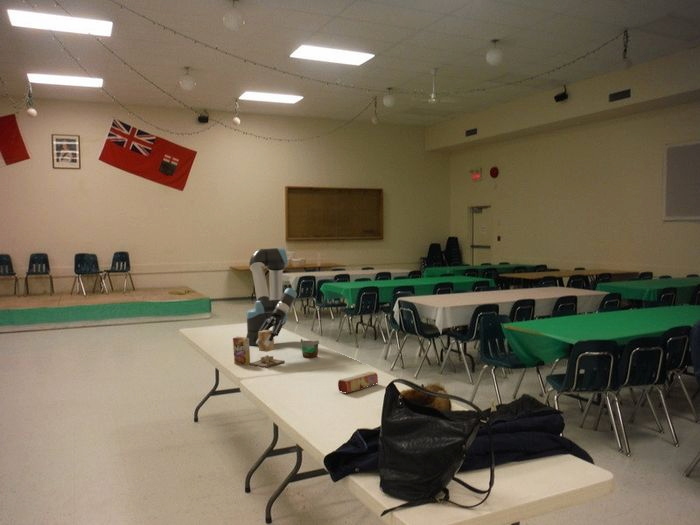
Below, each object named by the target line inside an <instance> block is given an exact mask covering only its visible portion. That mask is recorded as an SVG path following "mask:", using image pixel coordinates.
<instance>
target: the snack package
mask: <svg viewBox="0 0 700 525" xmlns="http://www.w3.org/2000/svg"><path fill="white" fill-rule="evenodd" d="M378 378H379V377H378V374H377V372H375V371H366V372H364V373H360V374H359V373H358V374H356V375H352V376H349V377H345V378H340V379H339V380H338V382H337V387H338V390H339V392H340V391H342V392H346V393H348V392H351V391H354V392H356V391H355V390H357V391H359V390H358V389H360V390H362V389H361V388H363V389H365V388H364V387H366V388H368V387H367V386H370V385H373V384H376V383H377V384H379V379H378ZM373 386H374V385H373ZM370 387H371V386H370ZM351 393H352V392H351ZM348 394H349V393H348Z"/></svg>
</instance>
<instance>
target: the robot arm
mask: <svg viewBox="0 0 700 525" xmlns="http://www.w3.org/2000/svg"><path fill="white" fill-rule="evenodd" d="M288 262H289V261H288V255H287V252H286V250H285V248H282V247H276V248H275V247H273V248H260V249H259V248H258V250H256V251H255V252H253V254H252V255H251V257H250V258H249V270H250V271H251V273H252V278H253V285H254V289H255V296H256V301H255V302H254V308H251V309H249V310H247V312H246V329H247V330H246V332H247V334H246V337H245V338H249V347H250V346H253V347H257V346H259V338H258V332H259V331H263V330H270V329H271V328H272V329H271V330H272V333H270V335H269V336H268V338H267V340H266V342H265V345H266V346H267V347H268V346H269V344H270V342H271V341H272V339H273V338H274V339H275V337H278V336H279V334H280V331H281V330H282V328H283V326H284V325H285V324H287V320H288V313H289V312H290V311H291V309H292V306H293V303H294V302H295V299H296V298H297V296H298V293H297V292H296V290H295V289H294V288H293V289H292V288H290V287H287V288H286V289H285V290H284V291H283V271H284V270H285V269H286V266H288ZM265 269H266V270H268V271H269V272H268V273H269V274H268V275H269V287H268V283H267V278H266V274H265V273H266V272H265ZM268 288H269V289H268Z"/></svg>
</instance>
